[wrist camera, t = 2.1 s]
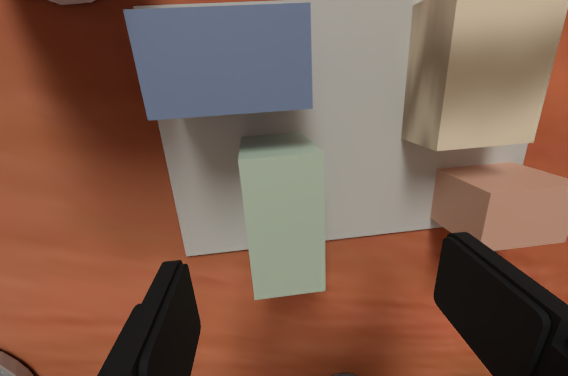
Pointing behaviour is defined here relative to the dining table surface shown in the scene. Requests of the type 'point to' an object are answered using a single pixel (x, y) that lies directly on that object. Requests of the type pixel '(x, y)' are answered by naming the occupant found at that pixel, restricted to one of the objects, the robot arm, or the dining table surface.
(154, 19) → the slate blue block
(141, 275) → the dining table surface
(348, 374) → the beverage cup
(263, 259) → the sage block
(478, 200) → the terracotta block
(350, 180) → the felt placemat
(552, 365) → the robot arm
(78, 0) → the white cup
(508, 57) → the beech block
